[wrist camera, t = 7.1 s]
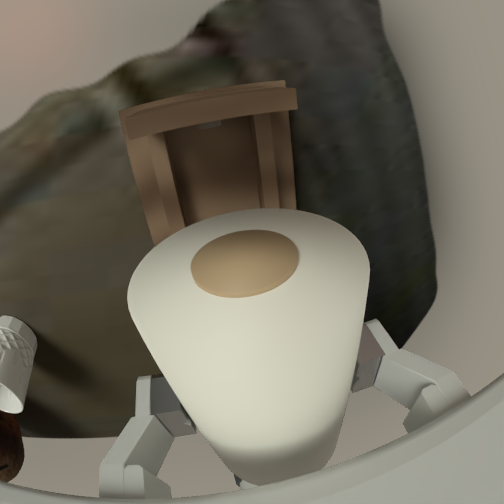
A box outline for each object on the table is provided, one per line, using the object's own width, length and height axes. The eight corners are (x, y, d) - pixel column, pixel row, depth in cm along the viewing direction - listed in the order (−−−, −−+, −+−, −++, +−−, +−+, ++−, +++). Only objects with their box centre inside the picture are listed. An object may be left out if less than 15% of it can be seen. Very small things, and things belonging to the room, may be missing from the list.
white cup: (-11, 303, 26) (-42, 362, 18) (40, 321, 29) (16, 387, 21) (-3, 344, 30) (-24, 399, 21) (43, 360, 33) (28, 420, 24)
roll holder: (294, 243, 31) (331, 304, 23) (166, 271, 30) (165, 343, 22) (279, 80, 22) (329, 81, 14) (122, 109, 21) (87, 124, 13)
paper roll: (314, 373, 15) (355, 464, 10) (209, 401, 14) (229, 500, 9) (311, 191, 9) (423, 300, 5) (137, 229, 9) (111, 383, 4)
